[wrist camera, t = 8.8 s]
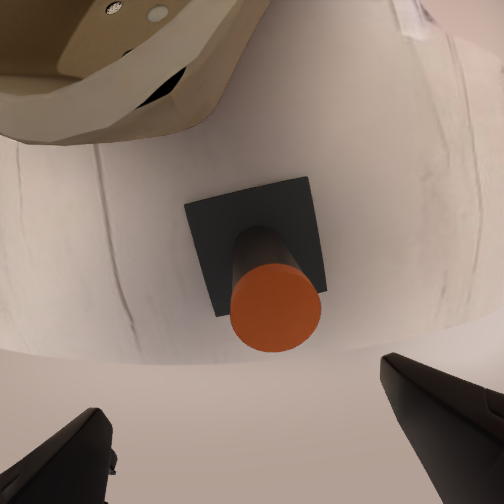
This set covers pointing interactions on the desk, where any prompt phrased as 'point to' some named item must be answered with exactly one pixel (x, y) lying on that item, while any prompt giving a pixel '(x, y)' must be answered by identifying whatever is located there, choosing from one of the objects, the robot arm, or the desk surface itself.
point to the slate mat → (247, 215)
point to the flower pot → (116, 66)
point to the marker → (270, 293)
